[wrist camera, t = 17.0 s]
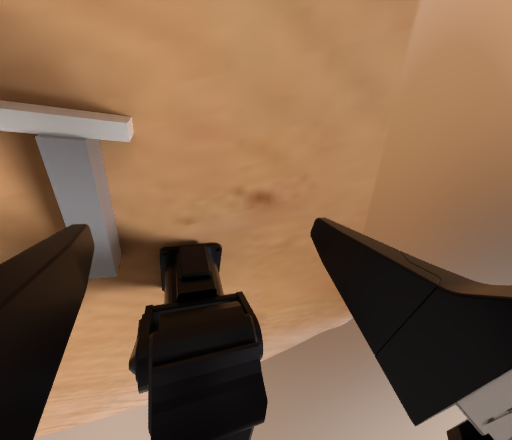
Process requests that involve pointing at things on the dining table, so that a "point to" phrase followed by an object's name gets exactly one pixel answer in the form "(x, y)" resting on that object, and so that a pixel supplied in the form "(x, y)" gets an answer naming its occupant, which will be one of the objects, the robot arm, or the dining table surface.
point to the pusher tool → (76, 168)
